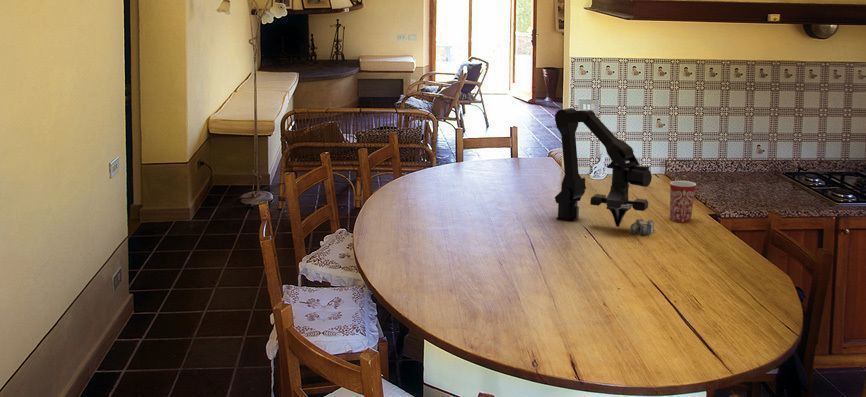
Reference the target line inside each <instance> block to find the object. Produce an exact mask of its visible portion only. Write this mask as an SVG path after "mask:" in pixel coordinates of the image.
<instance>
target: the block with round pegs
mask: <svg viewBox="0 0 866 397" xmlns="http://www.w3.org/2000/svg"><path fill="white" fill-rule="evenodd" d="M639 219H640V218H636V219H635V221H634V222H633V223H632V224H637V225H639V234H641V226H642V225H648V226H649V235H652V233H654V231H653V222H654V221H653V222H651V221H648V220H646V221H647V222H646V221H645V220H643V221H640V220H639Z"/></svg>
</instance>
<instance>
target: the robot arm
mask: <svg viewBox="0 0 866 397" xmlns="http://www.w3.org/2000/svg"><path fill="white" fill-rule="evenodd" d="M554 122H555V127H556V129H557V130H558V132H559V134H560V136H561V147H562V158H563V170H564V176H563V179H562V181H561V190H560V192H558V193H557V194H556V196H554V201H555V203H556V204H558V207H557V217H556V218H555V219H556V220H561V221H570V222H574V221H575V220H577V219H578V218H580V217H579V216H580V215H579V214H580V206H579V205H578V203H579V202H580V201H581V199H582V197H583V196H584V194H585V192H586V189H587V186H586V178H585V177H581V175H580V174H579V173H580V172H579V164H578V152H577V151H578V150H577V141H576V132H577V129H578V127H579V123H582V124H584V126H586V128H587V129H588V130H589V131H590V132H591V133H592V134H593V135H594V136H595V137H596V138H597V140H598V141H599V142H600V143H601V144H602V145H603V146H604V148H605V150H606V154H607V155H608V157H609V159H610V160H611V162H610V163H609V164H608V165H606V168H608V169H612V172H611V173H612V174H611V186H610V189H609V192H608V194H607V195H606V194H599V193H596V194H594V195H592V197H591V198H590V201H589V202H590V204H589V205H590V206H600V205H602V204H606V209H607V210H609V211H610V213H611V214H612V217H613V220H614V224H615V227H617V228H619V227H620V226H621V224H622V221H623V219H624V216H625V215H626V213H627V212H628V211H630V209H633V210H634V211H641V212H644V211H646V210H647V209H648V208H649V201H648V199H645V198H636V199H635V200H629V199H630V198H629V188H630V185H633V186H639V187H644V188H647V187H650V184H651V183H652V178H653V175H652V173H651V170H650V166H647V165H640V163H639V161H638V159H637V157H636V156H635V153H634V149H633V147H632V146H630V145H629V144H628V143H627V142H626V141H623V140H622V139H619V138H618V137H616V136H615V134H613V133H612V131H611V130H610V129H609V128H608V127H607V126H606V125H605V124H604V123H603V122H602V120H600V118H599V117H597V115H596V113H595V112H594V111H593V110H591V109H589V110H576V109H575V108H573V107H569V108H564V109H559V110H558V111H556V113H555V114H554Z"/></svg>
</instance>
